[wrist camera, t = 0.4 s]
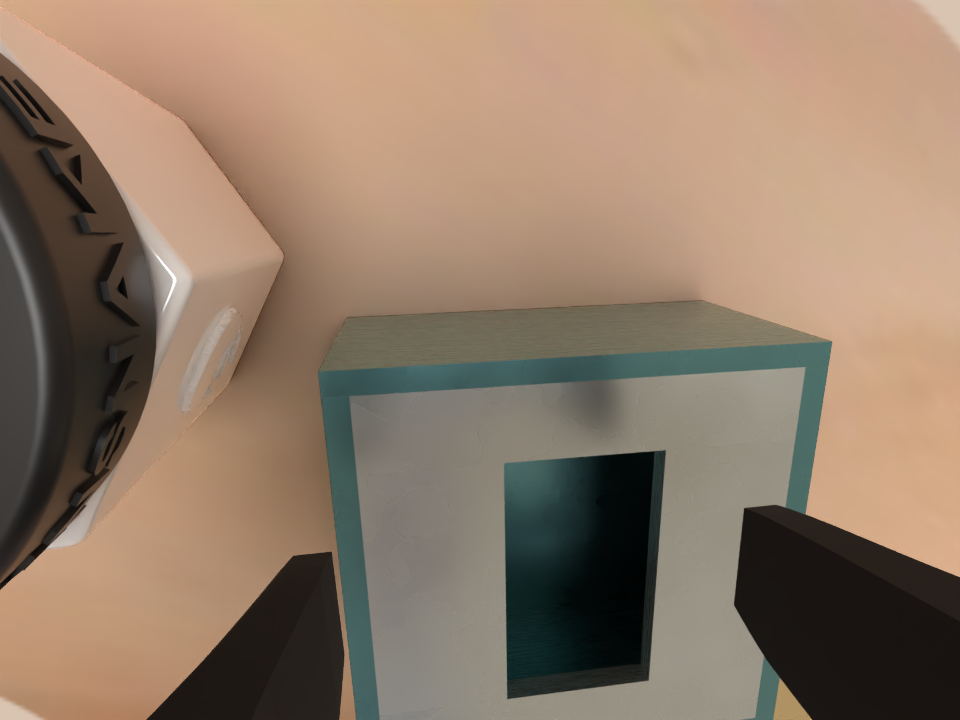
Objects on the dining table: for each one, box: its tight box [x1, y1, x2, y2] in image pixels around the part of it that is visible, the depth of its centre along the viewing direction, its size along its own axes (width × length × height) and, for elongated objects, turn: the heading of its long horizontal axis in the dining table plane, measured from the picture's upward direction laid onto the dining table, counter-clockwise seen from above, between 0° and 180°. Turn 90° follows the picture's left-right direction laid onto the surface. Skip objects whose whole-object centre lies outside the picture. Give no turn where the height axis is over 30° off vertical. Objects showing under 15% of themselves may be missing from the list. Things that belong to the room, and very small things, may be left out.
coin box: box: [318, 301, 832, 720], centre depth 17 cm, size 12×12×6 cm
